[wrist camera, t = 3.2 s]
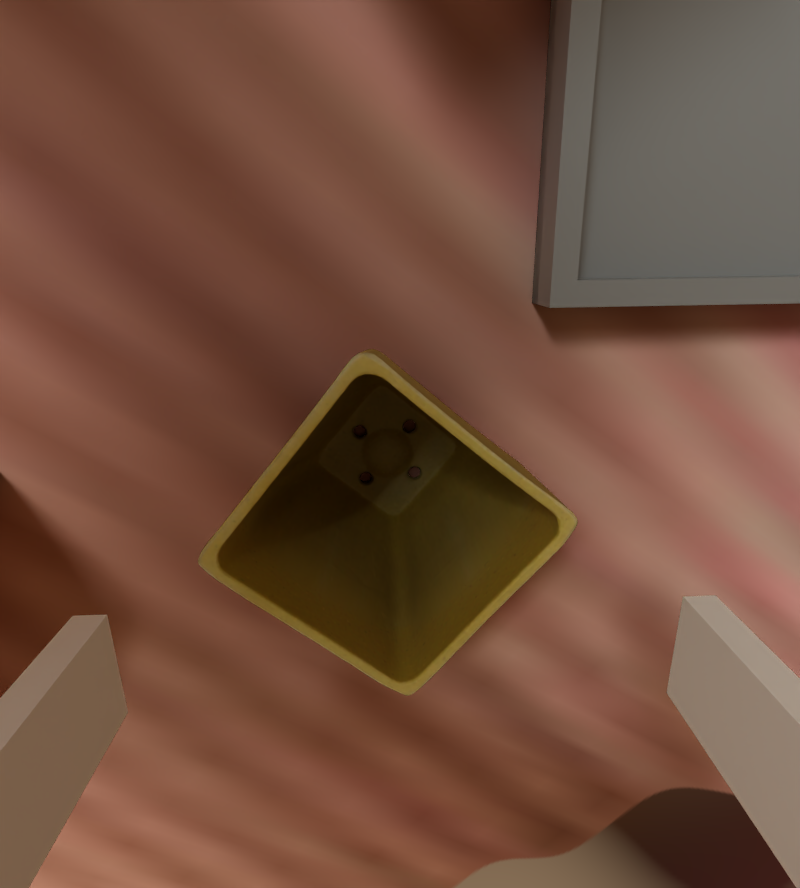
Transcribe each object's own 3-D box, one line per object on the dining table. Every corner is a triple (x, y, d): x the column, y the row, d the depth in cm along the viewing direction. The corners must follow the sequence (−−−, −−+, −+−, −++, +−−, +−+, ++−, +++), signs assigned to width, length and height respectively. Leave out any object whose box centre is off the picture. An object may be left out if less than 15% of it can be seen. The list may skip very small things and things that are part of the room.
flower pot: (251, 463, 25) (188, 567, 17) (367, 313, 23) (362, 345, 15) (398, 564, 27) (408, 703, 19) (516, 434, 25) (586, 524, 17)
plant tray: (532, 302, 23) (549, 307, 21) (560, -151, 19) (587, -210, 16) (870, 296, 24) (924, 300, 22) (984, -146, 19) (1069, -203, 17)
